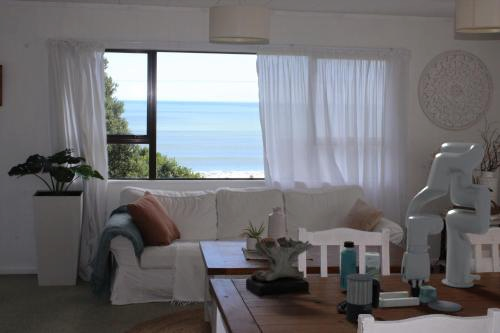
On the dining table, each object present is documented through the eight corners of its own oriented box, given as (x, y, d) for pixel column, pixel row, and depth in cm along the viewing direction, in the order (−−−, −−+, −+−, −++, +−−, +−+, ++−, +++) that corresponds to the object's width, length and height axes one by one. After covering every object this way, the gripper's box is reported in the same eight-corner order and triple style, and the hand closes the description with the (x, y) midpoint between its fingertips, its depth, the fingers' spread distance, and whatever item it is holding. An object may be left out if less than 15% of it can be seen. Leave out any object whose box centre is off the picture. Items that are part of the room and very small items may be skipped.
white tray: (406, 297, 251) (406, 291, 251) (419, 305, 241) (419, 298, 241) (369, 299, 247) (369, 293, 247) (380, 307, 237) (380, 300, 237)
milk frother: (365, 325, 216) (366, 281, 215) (323, 316, 226) (324, 274, 225) (382, 315, 228) (384, 273, 227) (342, 307, 237) (343, 266, 236)
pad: (450, 301, 246) (450, 300, 246) (468, 310, 235) (468, 309, 235) (421, 303, 243) (421, 301, 243) (438, 312, 232) (438, 310, 232)
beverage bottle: (336, 292, 257) (338, 242, 256) (342, 288, 263) (343, 239, 262) (352, 294, 254) (354, 243, 253) (358, 290, 260) (359, 241, 259)
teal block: (429, 298, 250) (429, 285, 250) (436, 302, 245) (436, 289, 245) (417, 299, 249) (418, 286, 249) (423, 302, 244) (424, 289, 244)
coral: (301, 282, 272) (302, 231, 270) (323, 295, 253) (325, 240, 251) (245, 287, 263) (246, 234, 261) (264, 300, 244) (265, 244, 242)
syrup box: (377, 287, 266) (378, 252, 265) (379, 290, 260) (380, 255, 259) (363, 286, 267) (364, 251, 266) (364, 290, 261) (365, 254, 260)
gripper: (429, 246, 250) (428, 293, 251) (394, 247, 247) (392, 295, 248) (439, 250, 243) (438, 298, 244) (403, 251, 239) (401, 300, 241)
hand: (415, 296), depth 246 cm, fingers closed
